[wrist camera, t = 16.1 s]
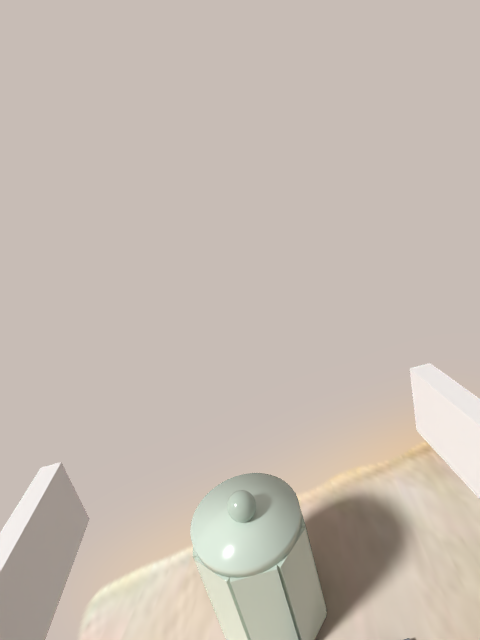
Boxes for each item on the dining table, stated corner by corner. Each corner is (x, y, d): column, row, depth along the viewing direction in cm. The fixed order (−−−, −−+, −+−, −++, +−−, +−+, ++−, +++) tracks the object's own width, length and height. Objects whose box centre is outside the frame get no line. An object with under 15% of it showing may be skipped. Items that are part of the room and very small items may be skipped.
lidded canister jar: (308, 547, 42) (281, 444, 37) (338, 648, 32) (307, 527, 28) (222, 570, 42) (185, 470, 37) (227, 679, 32) (179, 562, 28)
